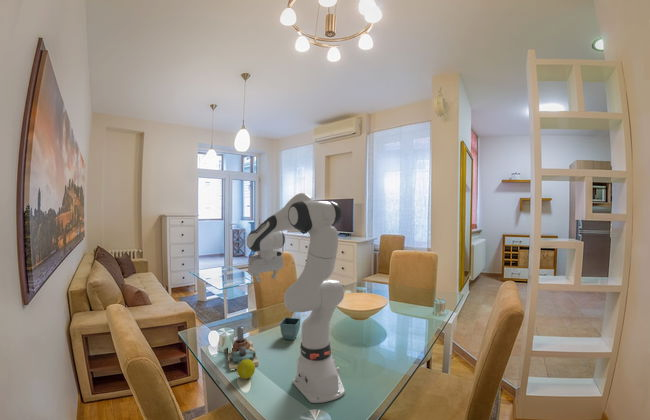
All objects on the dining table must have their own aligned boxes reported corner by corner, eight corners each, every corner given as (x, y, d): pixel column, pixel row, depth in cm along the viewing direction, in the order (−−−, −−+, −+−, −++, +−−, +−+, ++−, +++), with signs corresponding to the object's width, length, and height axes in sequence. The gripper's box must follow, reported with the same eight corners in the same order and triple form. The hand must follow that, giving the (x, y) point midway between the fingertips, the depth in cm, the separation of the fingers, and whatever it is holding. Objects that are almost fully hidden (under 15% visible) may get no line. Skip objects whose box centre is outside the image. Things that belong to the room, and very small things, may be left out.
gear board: (258, 365, 127) (258, 351, 127) (229, 371, 123) (229, 357, 123) (251, 343, 148) (251, 331, 148) (226, 348, 143) (226, 335, 143)
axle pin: (243, 349, 139) (243, 328, 139) (237, 350, 138) (237, 329, 138) (243, 346, 142) (242, 326, 142) (237, 347, 141) (236, 326, 141)
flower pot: (296, 342, 149) (295, 325, 149) (279, 341, 151) (279, 323, 151) (300, 335, 158) (300, 318, 158) (285, 333, 160) (285, 317, 159)
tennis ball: (243, 384, 114) (243, 366, 114) (233, 377, 119) (233, 360, 118) (258, 377, 119) (258, 360, 119) (248, 370, 124) (248, 354, 124)
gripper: (252, 256, 143) (252, 285, 143) (285, 252, 157) (285, 277, 158) (245, 255, 147) (245, 282, 147) (277, 250, 162) (278, 275, 162)
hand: (266, 280), depth 152 cm, fingers open, 8 cm apart
